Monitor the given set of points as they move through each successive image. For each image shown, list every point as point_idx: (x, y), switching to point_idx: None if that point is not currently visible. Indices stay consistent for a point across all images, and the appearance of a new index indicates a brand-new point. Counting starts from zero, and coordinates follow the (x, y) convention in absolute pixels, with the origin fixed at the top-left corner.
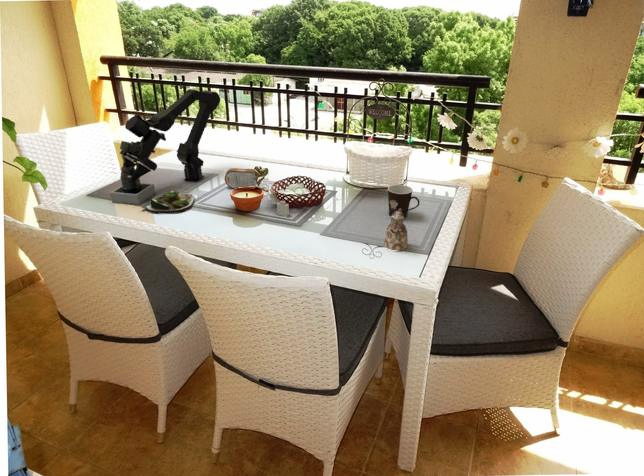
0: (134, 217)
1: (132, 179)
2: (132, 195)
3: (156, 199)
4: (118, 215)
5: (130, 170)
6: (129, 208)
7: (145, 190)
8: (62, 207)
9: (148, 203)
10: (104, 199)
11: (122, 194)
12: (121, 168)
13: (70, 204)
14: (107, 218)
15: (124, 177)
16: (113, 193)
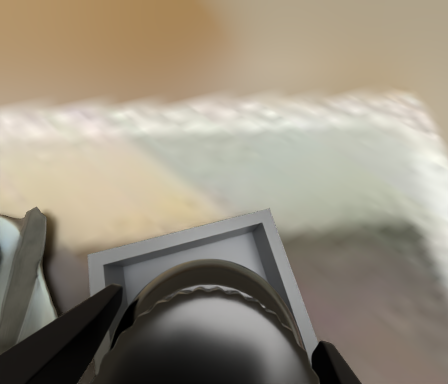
0: (46, 155)
1: (99, 296)
2: (126, 246)
3: (7, 332)
4: (125, 144)
5: (103, 369)
6: (131, 208)
7: (97, 361)
8: (363, 116)
9: (28, 261)
10: (314, 229)
11: (193, 229)
12: (260, 309)
13: (369, 141)
14: (146, 113)
15: (190, 270)
16: (249, 214)
